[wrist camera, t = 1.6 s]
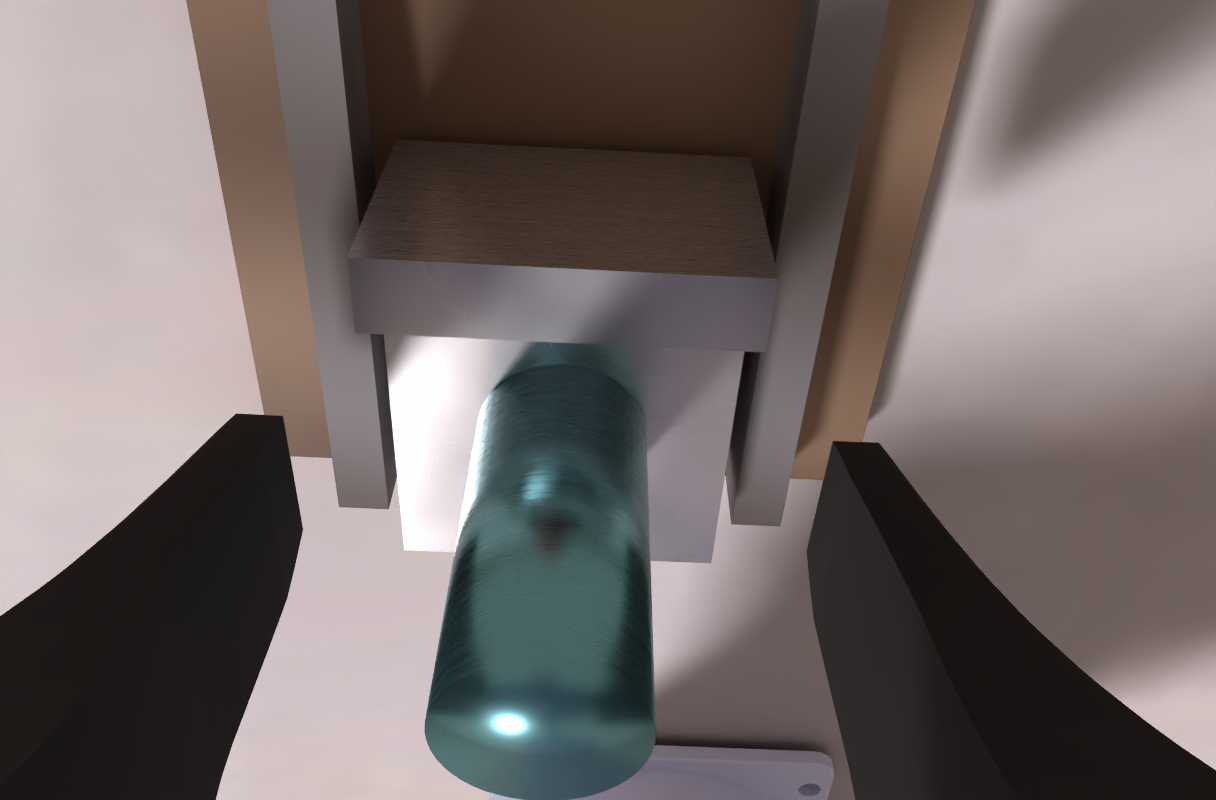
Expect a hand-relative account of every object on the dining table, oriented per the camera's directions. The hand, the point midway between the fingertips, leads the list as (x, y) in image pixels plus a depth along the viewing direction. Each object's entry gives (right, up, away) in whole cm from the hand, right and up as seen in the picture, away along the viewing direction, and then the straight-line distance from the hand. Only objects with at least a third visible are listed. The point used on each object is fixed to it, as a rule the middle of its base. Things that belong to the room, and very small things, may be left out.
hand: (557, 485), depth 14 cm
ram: (0, +2, +2) cm, 3 cm away
